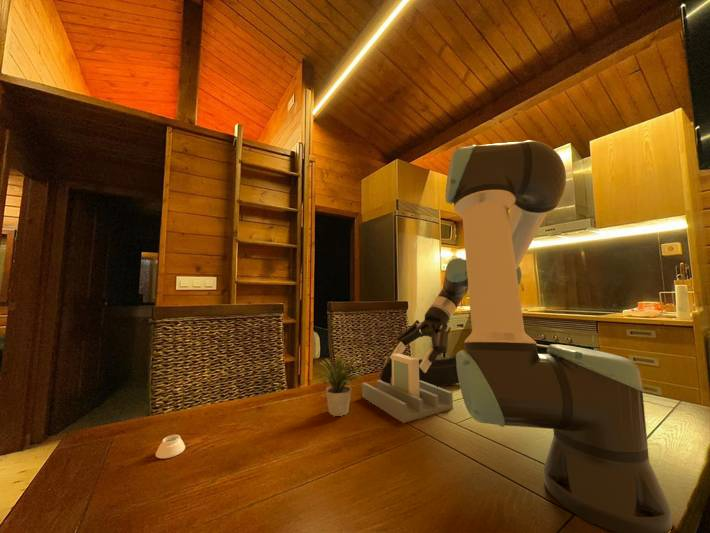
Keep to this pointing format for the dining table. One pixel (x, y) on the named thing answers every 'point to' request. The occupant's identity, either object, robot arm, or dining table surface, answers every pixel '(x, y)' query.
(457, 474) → the dining table surface
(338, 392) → the house plant
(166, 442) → the upturned cream bowl
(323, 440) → the dining table surface
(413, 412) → the notched rack
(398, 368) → the picture frame
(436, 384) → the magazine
